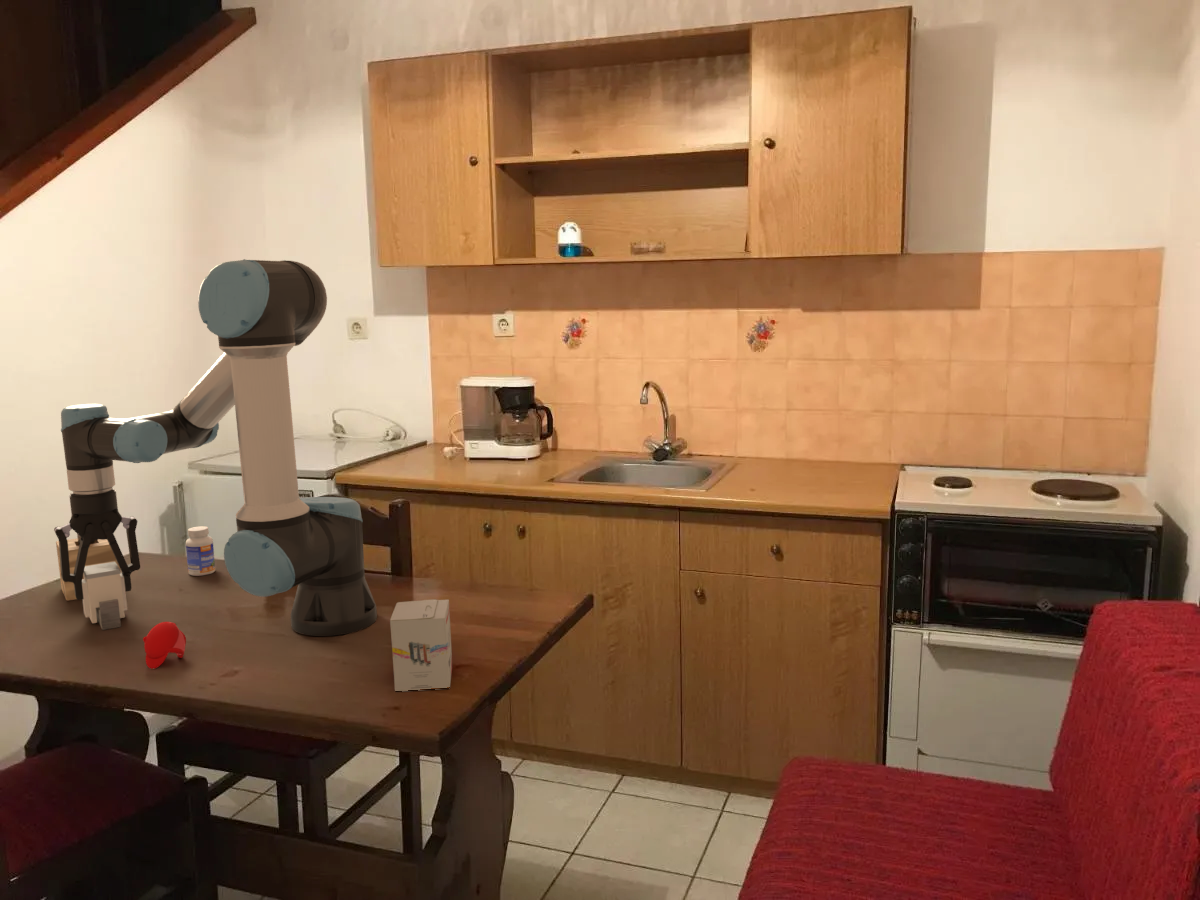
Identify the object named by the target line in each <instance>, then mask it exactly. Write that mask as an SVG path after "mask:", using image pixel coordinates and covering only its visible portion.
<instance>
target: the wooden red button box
mask: <svg viewBox="0 0 1200 900" xmlns="http://www.w3.org/2000/svg"><path fill="white" fill-rule="evenodd" d="M67 541H68V552H69V566H70V574H74V569H75V564H76V560H77V555H78V550H79V545H78V538H70V539H67ZM55 544H56V553H57V555H56V556H57V562H58V569H59V570H58V571H59V578H60V580H59V581H60V588H61V591H62V593H63V596H64V598H65V600H66V601H73V600H77V598H76V596H75V590H74V583H72V582H64V581H63V579H62V576H61V565H60V551H59V540H57V541H55ZM109 562H116V564H117V565H118V562H117V560H116V558H115V556H114V554H113V551H112V549H111V547H110V545H109V543H108V540H107V539H105V540H101V539H98V540H95V544H90V546H89V549H88V554H87V559H86V563H85V566H90V565H96V564H103V563H109ZM118 567H119V565H118ZM119 568H120V567H119ZM120 572H121V573H122V571H121V570H120ZM82 579H84V575H83V578H82Z"/></svg>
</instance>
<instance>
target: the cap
mask: <svg viewBox="0 0 1200 900" xmlns="http://www.w3.org/2000/svg"><path fill="white" fill-rule="evenodd" d="M142 641H143V643H144V653H145V663H146V666H147V668H149V669H150V668H151V669H152V670H155V669H157V668H159V667H161V666H162V665H163V663H164V662H165V661H166V659H167V657H168V655H169V654H176V655H177V658H179V659H182V658H183V657H184V656H185V652H186V646H187V645H186V644H187V638H186V635H185V634H184V632H183V631H182V630H180V628H179V627H178V626H177V624H176V623H175V622H171V621H162V622H159V623H157V624H156V625H154V626H153V627H151V629H150V630H149V632H148V633H147V635H145V636H144V637H143V638H142ZM153 668H154V669H153Z"/></svg>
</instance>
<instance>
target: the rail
mask: <svg viewBox="0 0 1200 900" xmlns="http://www.w3.org/2000/svg"><path fill="white" fill-rule="evenodd" d="M96 617H97V623H98V624H99V626H100V628H101V630H102V631H105V630H110V629H116V628H121V627H122V625H121V624H122V622H121V618H120V613H119V603H118V599H113V600H108V601H102V602H99V607H97V608H96Z"/></svg>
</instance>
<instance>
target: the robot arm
mask: <svg viewBox="0 0 1200 900" xmlns="http://www.w3.org/2000/svg"><path fill="white" fill-rule="evenodd" d="M197 303H198V304H197V305H198V311H199V316H200V318H201V322H202V323H203V324H206V325H207V326H206V328H207V329H208V330H209V332H211V333H212V334H213V335H215V336H217V339H218V340H217V341H218V348H219V349H220V350H221V351H222V352H223V353H222V355H220V356H219V358H218V359H217V360H216V361H215V362H214V363H213V364H212V366H211V367H210V368H209V369H208V370H207V371H206V372H205V374H204V375H203V376H202V377H200V379H199V380H198V381H197V382H196V384H195V385H194V386H193V387H192V388H191V389H190V390H189V391H188V392H187V394H185V396H184V397H183V398H182V399H181V400H180V401H179V402H178V403H177V404H176V405H175V406H174V408H172V409H171V410H169V411H168V410H167V411H163V412H156V413H151V414H147V415H140V416H134V417H128V418H127V417H126V418H125V417H124V418H120V417H110V415H109V413H108V407H107V406H106V405H104V404H102V403H85V404H84V403H83V404H74V405H69V406H65V407H64V408H62V410H61V411H60V416H61V417H60V419H61V420H60V422H61V423H60V424H61V428H60V431H61V436H62V442H63V443H62V444H63V451H64V460H65V466H66V476H67V485H68V490H69V491H70V493H69V496H68V497H69V503H70V505H69V506H70V513H71V517H70V520H69V521H68V523H67V524H64V525H62V526H55V527H54V530H53V531H54V533H55V536H56V537H57V539H58V541H59V551H60V565H61V576H62V579H63V581H64V582H72V583H74V590H75V596H76V598H77V599H76V600H77V601H80V600H82V607H83V615H84V617H85V618H89V617H91V616H90V607H89V598H88V589H87V582H86V580H85V579H82V578H83V573H84V568H85V563H86V559H87V554H88V549H89V546H90V542H91V541H95V540H98V539H101V540H105V539H107V540H108V543H109V545H110V547H111V549H112V551H113V554H114V556H115V558H116V560H117V562H118V565H119V567H120V571H121V574H120V576H121V585H122V595H123V604H124V612H125V611H128V602H127V592H131V590H132V581H131V580H132V579H131V574H132V573H133V572H135V571H139V570H140V569H141V562H140V556H139V549H138V540H137V535H136V529H137V525H138V519H137V518H136V517H134V516H133V515H131V516H122V514H120V512H119V509H118V508H119V507H118V506H119V505H118V500H117V499H118V498H117V490H116V489H115V488H114V486H115V485H116V480H115V479H116V478H115V472H114V471H115V470H114V469H115V468H114V461H117V462H118V461H119V462H128V463H132V464H141V463H152V462H156V461H158V459H159V458H161V457H162V456H163V455H166V454H169V453H174V452H179V451H184V450H189V449H196V448H200V447H202V446H203V445H207V444H210V443H212V442H213V441H214V440H216V437H217V436H218V431H219V429H220V425H219V422H220V421H221V420H222V419H223V418H224V417H225V416H226V415H227V414H228V413H229V412H230V411H231V410H232V408H234V410H235V418H236V419H235V420H236V429H237V439H238V442H237V443H238V451H239V461H240V470H241V472H240V473H241V482H242V492H243V502H244V503H243V505H242V506H241V507H240V509H239V510H238V511H237V512H236V513H235V521H236V532H235V533H233V534H231V536H230V537H229V538H228V539H227V540H228V541H227V542H226V543H225V544H224V548H223V560H224V564H225V567H226V570H227V572H228V574H229V575H230V577H231V579H232V580H233V582H234V583H235V584H237V585H238V586H239V587H240V588H241V589H242V590H243V591H245V592H246V593H248V594H250V595H253V596H256V597H261V598H262V597H264V598H266V597H270V596H274V595H277V594H280V593H281V594H282V593H285V592H287V591H289V590H291V589H292V588H293V587H296V586H297V588H296V592H295V597H294V600H293V603H292V607H291V611H290V625H291V628H292V630H293V631H294V632H297V633H299V634H302V635H305V636H314V637H329V636H331V637H332V636H339V635H341V636H342V635H345V634H346V635H347V634H350V633H354V632H358V631H361V630H364V629H366V628H368V627H370V626H371V625H373V624H374V623H375V622H376V621H377V620H378V619H377V618H378V616H377V615H378V614H377V613H378V612H377V611H378V610H377V604H376V602H375V599H374V597H373V594H372V592H371V590H370V587H369V585H368V582H367V580H366V576H365V557H364V540H363V539H364V538H363V522H364V521H363V518H362V512H361V506H360V503H358V501H356V500H355V499H352V498H349V497H348V498H347V497H337V496H310V497H309V496H308V497H302V498H300V494H299V493H300V492H299V484H298V483H299V482H298V472H297V471H298V470H297V459H296V449H295V438H294V437H295V436H294V435H295V434H294V425H293V413H292V403H291V401H292V400H291V392H290V390H291V389H290V380H289V379H290V378H289V377H290V376H289V368H288V367H289V366H288V354H289V352H290V351H291V350H292V349H293V348H294V347H298V346H300V345H301V344H302V343H304V341H306V339H307V338H308V337H309V336H310V335H311V334H312V333H313V332H314V331H315V329H316V328H317V327H318V326H319V324H320V323H321V322H322V320H323V317H324V316H325V313H326V310H327V303H328V295H327V290H326V287H325V285H324V283H323V281H322V279H321V277H320V276H319V275H318V273H316V271H314V270H313V269H312V268H311V267H309V266H307V265H306V264H304V263H301V262H298V261H294V260H285V259H284V260H265V259H264V260H259V259H245V258H244V259H240V260H230V261H225V262H222V263H220V264H217V265H216V266H215V267H213V268H212V269H211V270H209V273H208V274H207V276H205V277H204V279H203V280H202V283H201V284H200V289H199V292H198V300H197ZM120 524H122V527H123V528H124V529H125V530H126V538H127V539H126V540H127V547H128V553H129V558H130V563H129V564H128V563H127V561H126V558H125V557H124V555H123V551H122V550H121V548H120V546H119V543H118V541H117V538H116V536H115V534H114V533H115V532H116V530H117V528H118V527H119V526H120ZM71 531H74V532H75V533H76V535H77V534H78V535H79V536H81V538H80V545H79V550H78V555H77V560H76V564H75V569H74V574H70V566H69V552H68V541H67V540H68V539H67V538H69V537H70V536H71V533H70V532H71Z"/></svg>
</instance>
